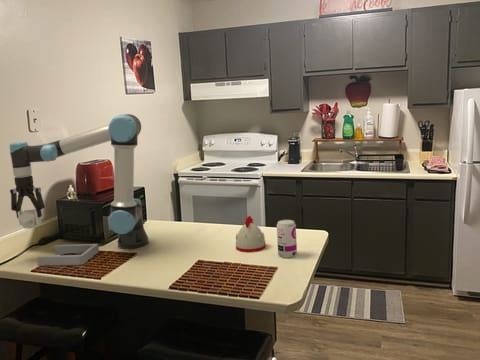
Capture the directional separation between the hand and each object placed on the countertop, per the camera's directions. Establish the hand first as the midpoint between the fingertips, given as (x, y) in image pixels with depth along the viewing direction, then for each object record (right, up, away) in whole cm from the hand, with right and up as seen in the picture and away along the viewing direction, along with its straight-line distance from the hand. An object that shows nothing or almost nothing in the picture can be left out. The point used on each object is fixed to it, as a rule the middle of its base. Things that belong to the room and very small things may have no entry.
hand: (30, 224), depth 208 cm
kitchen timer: (+102, -11, 0) cm, 103 cm away
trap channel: (+17, -16, +1) cm, 23 cm away
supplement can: (+118, -12, -13) cm, 119 cm away
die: (0, -1, 0) cm, 1 cm away
